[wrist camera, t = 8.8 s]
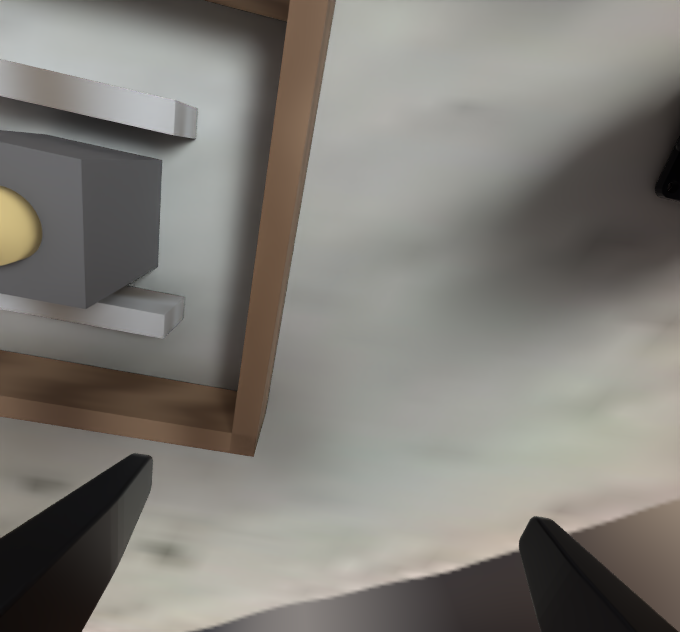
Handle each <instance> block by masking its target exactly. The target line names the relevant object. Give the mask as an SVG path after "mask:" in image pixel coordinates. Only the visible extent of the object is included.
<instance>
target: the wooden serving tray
mask: <svg viewBox="0 0 680 632" xmlns="http://www.w3.org/2000/svg"><path fill="white" fill-rule="evenodd" d="M205 1H209V2H213V3H216V4H220V5H224V6H228V7H232V8H236V9H240V10H244V11H247V12H251V13H255V14H259V15H263V16H267V17H271V18H275V19H278V20H282V21H286V22H287V27H286V34H285V41H284V49H283V56H282V64H281V71H280V79H279V86H278V93H277V101H276V108H275V116H274V123H273V131H272V138H271V146H270V153H269V160H268V168H267V175H266V183H265V190H264V198H263V205H262V212H261V220H260V227H259V235H258V242H257V250H256V257H255V264H254V272H253V279H252V287H251V294H250V302H249V309H248V317H247V324H246V331H245V339H244V346H243V354H242V361H241V369H240V376H239V383H238V391H233V390H227V389H222V388H216V387H210V386H204V385H198V384H193V383H187V382H181V381H175V380H170V379H164V378H158V377H152V376H146V375H141V374H135V373H129V372H123V371H118V370H112V369H106V368H100V367H94V366H89V365H83V364H77V363H71V362H66V361H60V360H54V359H48V358H43V357H37V356H31V355H25V354H19V353H14V352H8V351H2V350H0V416H1V417H7V418H13V419H20V420H26V421H32V422H38V423H45V424H51V425H57V426H63V427H70V428H76V429H82V430H89V431H95V432H101V433H107V434H114V435H120V436H126V437H133V438H139V439H145V440H151V441H158V442H164V443H170V444H177V445H183V446H189V447H195V448H202V449H208V450H214V451H220V452H227V453H233V454H239V455H246V456H252V457H254V453H255V450H256V446H257V442H258V439H259V435H260V432H261V428H262V424H263V421H264V417H265V414H266V408H267V402H268V396H269V390H270V384H271V378H272V372H273V367H274V361H275V355H276V349H277V343H278V337H279V331H280V325H281V319H282V314H283V308H284V302H285V296H286V290H287V284H288V278H289V272H290V266H291V261H292V255H293V249H294V243H295V237H296V231H297V225H298V219H299V214H300V208H301V202H302V196H303V190H304V184H305V178H306V172H307V166H308V161H309V155H310V149H311V143H312V137H313V131H314V125H315V119H316V113H317V108H318V102H319V96H320V90H321V84H322V78H323V72H324V66H325V60H326V55H327V49H328V43H329V37H330V31H331V25H332V19H333V13H334V7H335V2H336V0H205ZM0 96H3V97H7V98H12V99H16V100H21V101H25V102H29V103H34V104H38V105H43V106H47V107H51V108H56V109H60V110H65V111H69V112H73V113H78V114H82V115H87V116H91V117H96V118H100V119H104V120H109V121H113V122H118V123H122V124H126V125H131V126H135V127H140V128H144V129H148V130H153V131H157V132H162V133H166V134H170V135H175V136H181V137H188V138H194V139H196V129H197V114H198V109H197V108H195V107H192V106H189V105H187V104H184V103H182V102H179V101H176V100H173V99H168V98H164V97H160V96H156V95H151V94H147V93H143V92H139V91H134V90H130V89H126V88H122V87H117V86H113V85H109V84H105V83H100V82H96V81H92V80H88V79H83V78H79V77H75V76H70V75H66V74H62V73H58V72H53V71H49V70H45V69H41V68H36V67H32V66H28V65H24V64H19V63H15V62H11V61H7V60H2V59H0ZM184 302H185V297H182V296H177V295H172V294H167V293H161V292H156V291H151V290H146V289H141V288H135V287H130V286H124V287H123V288H121V289H119V290H117V291H116V292H114V293H112V294H111V295H109V296H107V297H106V298H104V299H102V300H101V301H99V302H97V303H95V304H94V305H92V306H90V307H89V308H87V309H82V308H76V307H71V306H66V305H60V304H55V303H49V302H44V301H38V300H33V299H28V298H22V297H17V296H11V295H6V294H0V309H2V310H8V311H13V312H19V313H24V314H30V315H35V316H41V317H46V318H52V319H57V320H63V321H68V322H74V323H79V324H85V325H90V326H96V327H101V328H107V329H112V330H118V331H123V332H129V333H134V334H140V335H145V336H151V337H156V338H162V339H164V338H165V337H166V336H167V335H168V334H169V333H170V332H171V331H172V330H173V329H174V328H175V326H176V325H177V324H178V323H179V322H180V321H181V320H182V319H183V317H184Z"/></svg>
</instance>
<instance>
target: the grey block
mask: <svg viewBox="0 0 680 632" xmlns="http://www.w3.org/2000/svg"><path fill="white" fill-rule="evenodd" d="M161 176H162V160H159V159H154V158H150V157H145V156H141V155H136V154H132V153H127V152H123V151H118V150H113V149H109V148H104V147H100V146H95V145H91V144H86V143H82V142H77V141H73V140H68V139H64V138H59V137H54V136H50V135H45V134H34V133H24V132H13V131H2V130H0V294H6V295H11V296H17V297H22V298H28V299H33V300H38V301H44V302H49V303H55V304H60V305H66V306H71V307H76V308H82V309H87V308H89V307H90V306H92V305H94V304H95V303H97V302H99V301H101V300H102V299H104V298H106V297H107V296H109V295H111V294H112V293H114V292H116V291H117V290H119V289H121V288H123V287H124V286H126V285H128V284H129V283H131V282H133V281H134V280H136V279H138V278H140V277H141V276H143V275H145V274H146V273H148V272H150V271H151V270H153V269H155V268H156V267H158V250H159V225H160V201H161Z"/></svg>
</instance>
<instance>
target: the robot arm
mask: <svg viewBox="0 0 680 632" xmlns="http://www.w3.org/2000/svg"><path fill="white" fill-rule="evenodd" d="M671 182H672V187H671V189H670V190H669V191H668V189H667V188H668V185H669V184H670V183H671ZM655 193H656V194H657V196H659V197H661V198H665V199H669V200H674V201H678V202H680V137H679V139H678V141H677V143H676V145H675V147H674V149H673V151H672V153H671V155H670V157H669V159H668V161H667V163H666V165H665V167H664V169H663V172H662V174H661V176H660V178H659V180H658V182H657V184H656V187H655ZM152 469H153V459H152V457H151V456H149V455H143V454H136V453H135V454H131V455H129V456H128V457H126V458H125V459H123V460H121V461H120V462H118V463H117V464H115V465H114V466H112V467H111V468H109V469H107V470H106V471H104V472H103V473H101V474H100V475H98V476H97V477H95V478H93V479H92V480H90V481H89V482H87V483H86V484H84V485H83V486H81V487H79V488H78V489H76V490H75V491H73V492H72V493H70V494H69V495H67V496H65V497H64V498H62V499H61V500H59V501H58V502H56V503H55V504H53V505H51V506H50V507H48V508H47V509H45V510H44V511H42V512H41V513H39V514H37V515H36V516H34V517H33V518H31V519H30V520H28V521H27V522H25V523H24V524H22V525H20V526H19V527H17V528H16V529H14V530H13V531H11V532H10V533H8V534H6V535H5V536H3V537H2V538H0V632H82V630H83V628H84V627H85V625H86V623H87V621H88V619H89V618H90V616H91V614H92V612H93V610H94V609H95V607H96V605H97V603H98V601H99V600H100V598H101V596H102V594H103V592H104V591H105V589H106V587H107V585H108V583H109V582H110V580H111V578H112V576H113V574H114V572H115V570H116V568H117V567H118V564H119V562H120V560H121V558H122V556H123V553H124V551H125V549H126V546H127V544H128V542H129V540H130V537H131V535H132V533H133V530H134V528H135V526H136V523H137V521H138V519H139V516H140V514H141V512H142V510H143V507H144V505H145V503H146V500H147V498H148V496H149V493H150V490H151V485H152ZM519 551H520V554H521V558H522V563H523V567H524V570H525V574H526V578H527V582H528V586H529V590H530V594H531V598H532V602H533V605H534V609H535V613H536V616H537V620H538V623H539V626H540V629H541V632H678V631H677V630H676V629H675V628H674V627H673V626H672V625H671V624H669V623H668V622H667V621H666V620H665V619H664V618H663V617H662V616H660V615H659V614H658V613H657V612H656V611H655V610H654V609H652V608H651V607H650V606H649V605H648V604H647V603H646V602H645V601H643V600H642V599H641V598H640V597H639V596H638V595H637V594H636V593H634V592H633V591H632V590H631V589H630V588H629V587H628V586H626V585H625V584H624V583H623V582H622V581H621V580H620V579H619V578H617V577H616V576H615V575H614V574H613V573H612V572H611V571H610V570H608V569H607V568H606V567H605V566H604V565H603V564H602V563H600V562H599V561H598V560H597V559H596V558H595V557H594V556H593V555H591V554H590V553H589V552H588V551H587V550H586V549H585V548H583V547H582V546H581V545H580V544H579V543H578V542H576V540H574V539H573V538H572V537H571V536H570V535H569V534H568V533H567V532H565V531H564V530H563V529H562V528H561V527H560V526H559V525H557V524H556V523H555V522H554V521H553V520H551V519H549V518H544V517H537V516H534V517H532V518H531V519H530V521H529V523H528V524H527V526H526V528H525V530H524V532H523V534H522V536H521V538H520V540H519Z"/></svg>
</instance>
